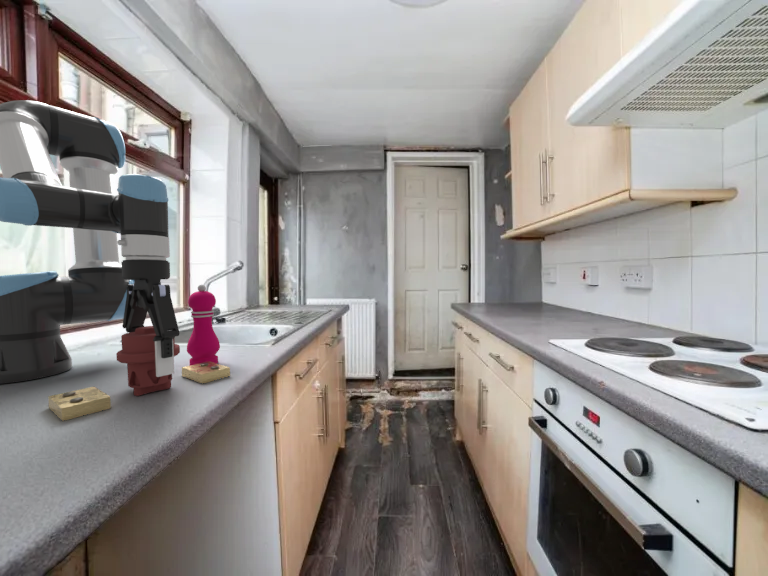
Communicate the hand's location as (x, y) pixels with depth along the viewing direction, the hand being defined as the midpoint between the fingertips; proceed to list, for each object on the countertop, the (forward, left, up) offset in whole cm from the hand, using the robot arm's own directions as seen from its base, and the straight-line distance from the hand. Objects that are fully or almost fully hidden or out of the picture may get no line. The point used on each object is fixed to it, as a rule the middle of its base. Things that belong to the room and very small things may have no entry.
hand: (150, 369), depth 64 cm
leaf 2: (0, +10, -4) cm, 11 cm away
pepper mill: (-10, +15, -4) cm, 19 cm away
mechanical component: (0, 0, -4) cm, 4 cm away
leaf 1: (0, -10, -4) cm, 11 cm away
